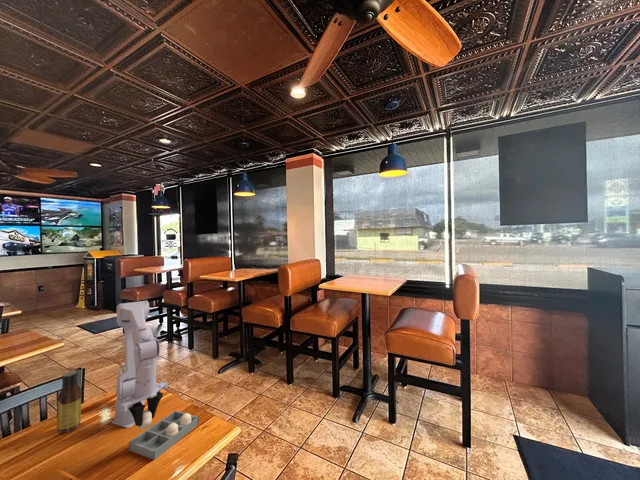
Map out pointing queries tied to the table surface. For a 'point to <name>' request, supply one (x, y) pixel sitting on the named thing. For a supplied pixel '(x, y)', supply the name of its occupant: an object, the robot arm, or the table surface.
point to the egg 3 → (185, 419)
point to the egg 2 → (172, 430)
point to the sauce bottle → (69, 403)
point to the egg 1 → (146, 420)
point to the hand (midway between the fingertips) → (145, 421)
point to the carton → (161, 436)
